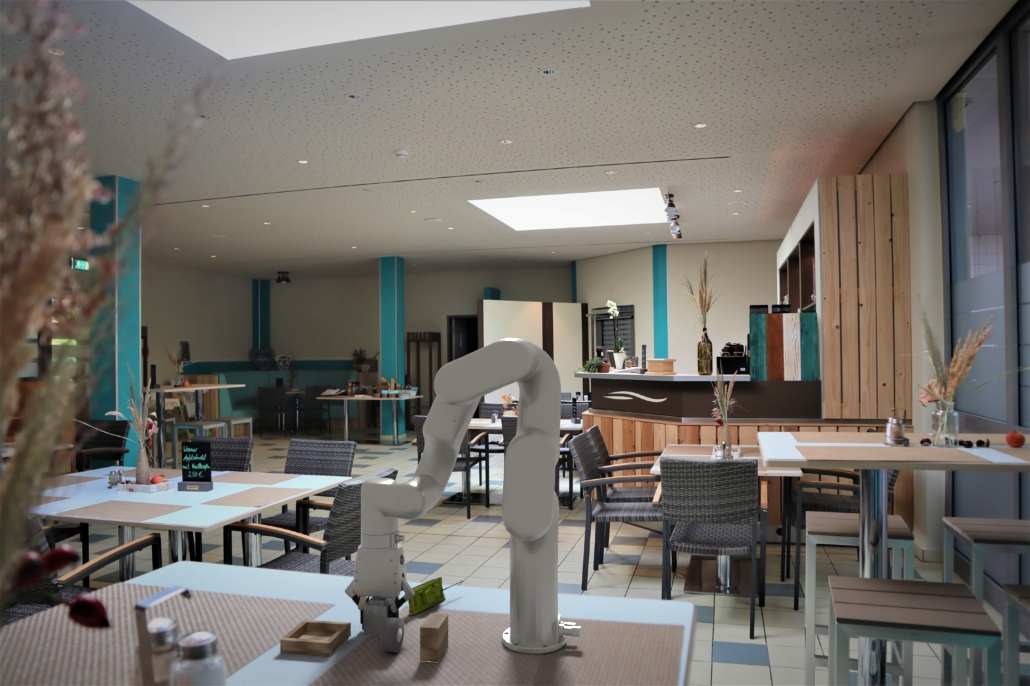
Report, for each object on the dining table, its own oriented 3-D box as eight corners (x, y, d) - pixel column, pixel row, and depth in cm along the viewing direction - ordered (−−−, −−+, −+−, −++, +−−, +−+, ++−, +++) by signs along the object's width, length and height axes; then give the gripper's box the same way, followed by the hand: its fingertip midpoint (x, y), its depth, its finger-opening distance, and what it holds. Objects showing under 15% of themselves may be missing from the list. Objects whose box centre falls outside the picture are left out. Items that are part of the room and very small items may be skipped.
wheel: (404, 644, 136) (404, 613, 136) (394, 657, 130) (394, 625, 130) (391, 643, 136) (391, 612, 136) (380, 656, 130) (380, 624, 130)
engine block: (395, 627, 145) (395, 594, 145) (386, 636, 140) (386, 602, 140) (372, 625, 146) (372, 592, 146) (363, 635, 141) (363, 601, 141)
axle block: (448, 647, 135) (448, 614, 135) (438, 663, 128) (438, 628, 128) (429, 646, 136) (429, 613, 136) (418, 661, 129) (418, 627, 129)
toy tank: (393, 588, 153) (427, 586, 148) (446, 566, 169) (479, 564, 164) (398, 621, 152) (432, 620, 147) (451, 596, 168) (484, 594, 163)
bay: (350, 635, 141) (350, 622, 141) (329, 656, 131) (329, 643, 131) (304, 631, 143) (304, 619, 143) (280, 652, 133) (280, 639, 133)
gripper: (424, 536, 145) (424, 624, 145) (347, 533, 148) (347, 619, 148) (413, 546, 138) (413, 638, 138) (332, 542, 141) (332, 633, 141)
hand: (379, 627), depth 143 cm, fingers closed on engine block, 5 cm apart
